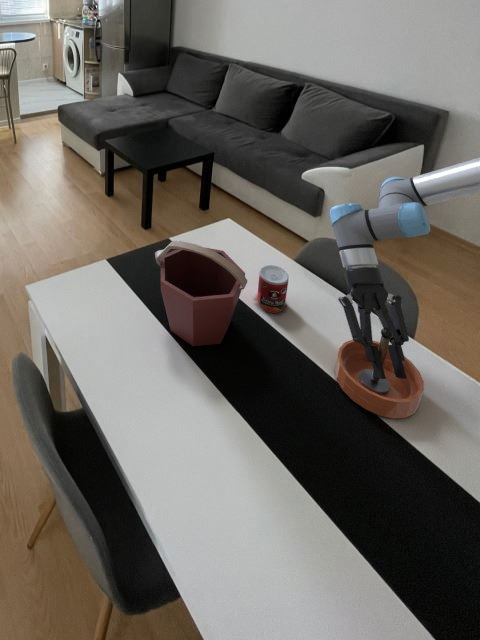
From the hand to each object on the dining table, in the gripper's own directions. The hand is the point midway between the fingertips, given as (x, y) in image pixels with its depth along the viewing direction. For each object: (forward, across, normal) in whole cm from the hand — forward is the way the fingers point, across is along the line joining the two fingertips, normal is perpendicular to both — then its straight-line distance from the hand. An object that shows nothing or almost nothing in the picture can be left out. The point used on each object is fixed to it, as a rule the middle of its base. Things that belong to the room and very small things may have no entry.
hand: (390, 377), depth 94 cm
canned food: (-16, +14, -27) cm, 35 cm away
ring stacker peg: (+2, 0, -8) cm, 8 cm away
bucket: (-12, +37, -23) cm, 45 cm away
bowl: (+3, 0, -8) cm, 9 cm away
